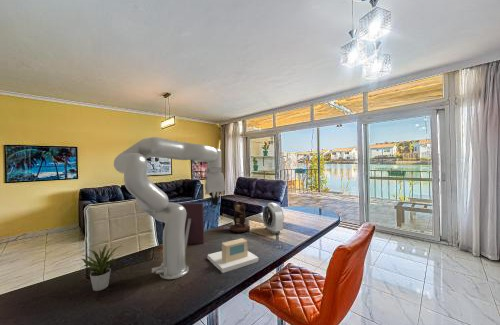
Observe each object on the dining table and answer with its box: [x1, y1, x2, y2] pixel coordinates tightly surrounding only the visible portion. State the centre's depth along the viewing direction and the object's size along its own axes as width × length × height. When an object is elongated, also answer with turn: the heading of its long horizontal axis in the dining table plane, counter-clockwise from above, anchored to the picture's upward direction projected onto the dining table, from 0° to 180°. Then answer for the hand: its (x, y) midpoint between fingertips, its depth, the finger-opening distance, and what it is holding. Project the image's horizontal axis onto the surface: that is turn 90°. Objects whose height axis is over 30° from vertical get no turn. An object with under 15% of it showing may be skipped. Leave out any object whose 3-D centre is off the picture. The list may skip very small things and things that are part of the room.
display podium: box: [207, 250, 260, 274], centre depth 112 cm, size 20×18×2 cm
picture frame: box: [176, 202, 205, 250], centre depth 131 cm, size 17×10×25 cm, turn 84°
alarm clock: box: [262, 202, 285, 235], centre depth 157 cm, size 18×8×20 cm, turn 25°
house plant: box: [81, 244, 122, 292], centre depth 90 cm, size 14×14×16 cm
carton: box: [221, 237, 249, 263], centre depth 110 cm, size 12×8×5 cm
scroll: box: [229, 202, 251, 234], centre depth 159 cm, size 15×15×20 cm
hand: (215, 204), depth 120 cm, fingers closed
